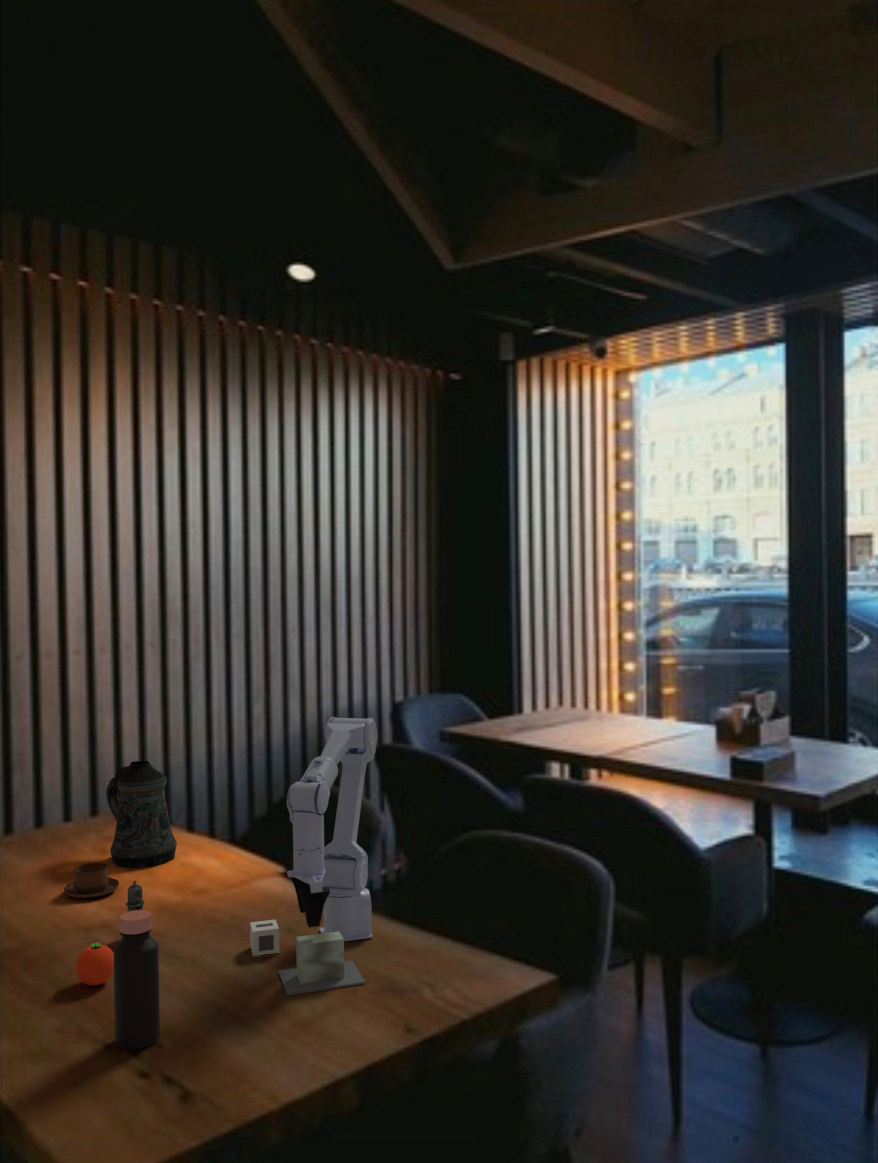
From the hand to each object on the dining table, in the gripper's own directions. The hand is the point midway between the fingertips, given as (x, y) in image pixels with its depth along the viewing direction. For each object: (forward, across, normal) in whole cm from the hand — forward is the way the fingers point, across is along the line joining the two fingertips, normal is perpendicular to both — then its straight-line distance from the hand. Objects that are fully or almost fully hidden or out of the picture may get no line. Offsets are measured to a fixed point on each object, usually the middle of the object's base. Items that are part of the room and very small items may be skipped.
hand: (309, 918), depth 178 cm
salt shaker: (+10, -26, -31) cm, 42 cm away
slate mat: (+9, +5, +1) cm, 11 cm away
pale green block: (+9, +5, +1) cm, 10 cm away
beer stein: (+10, -83, -29) cm, 89 cm away
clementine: (+10, -8, -38) cm, 40 cm away
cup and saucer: (+10, -60, -40) cm, 72 cm away
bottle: (+9, +18, -31) cm, 37 cm away
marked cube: (+10, -12, -7) cm, 17 cm away
